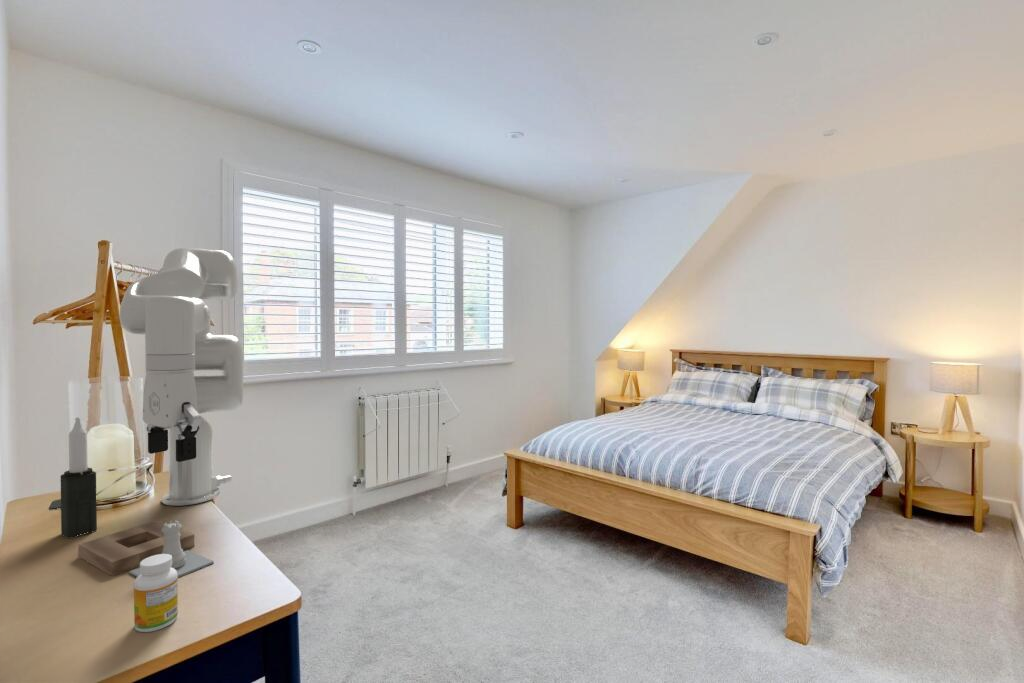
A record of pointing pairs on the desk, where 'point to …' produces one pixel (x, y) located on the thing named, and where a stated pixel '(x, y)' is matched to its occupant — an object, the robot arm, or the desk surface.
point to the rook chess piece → (173, 543)
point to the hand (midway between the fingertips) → (171, 455)
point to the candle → (78, 488)
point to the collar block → (129, 547)
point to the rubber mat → (186, 564)
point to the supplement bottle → (155, 594)
